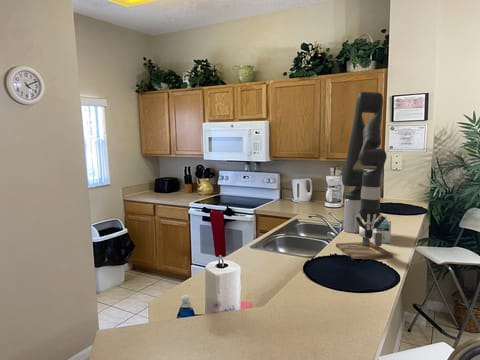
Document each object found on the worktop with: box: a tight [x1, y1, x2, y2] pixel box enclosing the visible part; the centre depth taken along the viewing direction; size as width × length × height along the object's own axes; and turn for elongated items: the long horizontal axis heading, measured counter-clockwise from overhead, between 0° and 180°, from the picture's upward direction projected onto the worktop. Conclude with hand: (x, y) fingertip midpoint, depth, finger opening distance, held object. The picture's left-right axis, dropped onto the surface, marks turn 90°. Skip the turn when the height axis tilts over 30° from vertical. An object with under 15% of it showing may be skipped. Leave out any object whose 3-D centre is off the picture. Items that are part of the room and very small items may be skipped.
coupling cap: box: [358, 227, 383, 247], centre depth 149 cm, size 17×6×5 cm, turn 2°
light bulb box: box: [374, 216, 392, 244], centre depth 168 cm, size 11×7×11 cm, turn 168°
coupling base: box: [335, 237, 394, 260], centre depth 151 cm, size 18×17×6 cm
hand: (368, 238), depth 145 cm, fingers closed
